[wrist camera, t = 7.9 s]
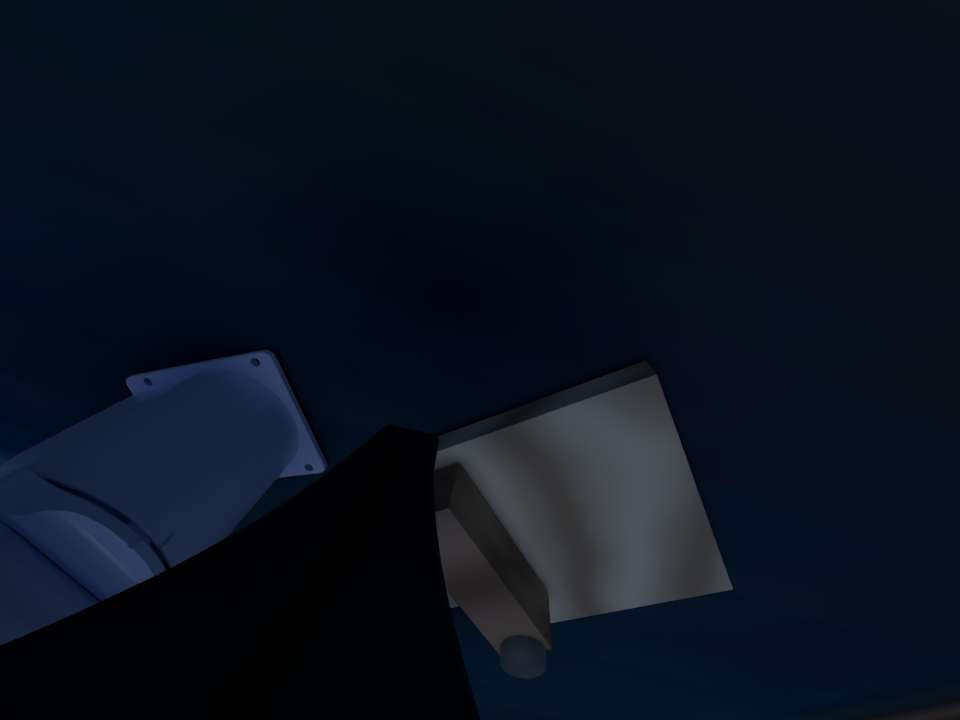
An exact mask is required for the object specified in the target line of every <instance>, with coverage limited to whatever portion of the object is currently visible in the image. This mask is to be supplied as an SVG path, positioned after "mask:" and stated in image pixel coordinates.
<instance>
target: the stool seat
mask: <svg viewBox="0 0 960 720" xmlns="http://www.w3.org/2000/svg"><path fill="white" fill-rule="evenodd" d="M438 439H439V445H438V451H437V457H436V463H435V469H434V472H437V471H440V470H442V469H445V468H448V467H450V466H453V465H456V464H458V463H459V464H460V465H461V467H462V468H463V470H464V471H465V473H466V474H467V475H468V477H469V478H470V480H471V481H472V483H473V484H474V486H475V487H476V489H477V490H478V492H479V493H480V494H481V496H482V497H483V499H484V500H485V502H486V503H487V505H488V506H489V508H490V509H491V511H492V512H493V513H494V515H495V516H496V518H497V519H498V521H499V522H500V524H501V525H502V527H503V528H504V529H505V531H506V532H507V534H508V535H509V537H510V538H511V540H512V541H513V543H514V544H515V546H516V547H517V548H518V550H519V551H520V553H521V554H522V556H523V557H524V559H525V560H526V562H527V563H528V565H529V566H530V567H531V569H532V570H533V572H534V573H535V575H536V576H537V578H538V579H539V581H540V582H541V584H542V585H543V586H544V588H545V589H546V591H547V592H548V594H549V609H550V623H554V622H560V621H565V620H570V619H576V618H581V617H587V616H592V615H597V614H603V613H608V612H614V611H619V610H624V609H630V608H635V607H641V606H646V605H651V604H657V603H662V602H668V601H673V600H678V599H684V598H689V597H695V596H700V595H705V594H711V593H716V592H722V591H727V590H732V586H731V583H730V580H729V577H728V574H727V572H726V569H725V566H724V563H723V560H722V557H721V555H720V552H719V549H718V546H717V543H716V541H715V538H714V535H713V532H712V529H711V526H710V524H709V521H708V518H707V515H706V512H705V510H704V507H703V504H702V501H701V498H700V495H699V493H698V490H697V487H696V484H695V481H694V478H693V476H692V473H691V470H690V467H689V464H688V462H687V459H686V456H685V453H684V450H683V447H682V445H681V442H680V439H679V436H678V433H677V431H676V428H675V425H674V422H673V419H672V416H671V414H670V411H669V408H668V405H667V402H666V399H665V397H664V394H663V391H662V388H661V385H660V383H659V380H658V377H657V374H656V373H655V372H654V370H653V369H652V367H651V366H650V365H649V363H648V362H647V361H646V360H645V361H643V362H640V363H637V364H635V365H632V366H629V367H626V368H624V369H621V370H618V371H615V372H613V373H610V374H607V375H605V376H602V377H599V378H596V379H594V380H591V381H588V382H585V383H583V384H580V385H577V386H575V387H572V388H569V389H566V390H564V391H561V392H558V393H555V394H553V395H550V396H547V397H545V398H542V399H539V400H536V401H534V402H531V403H528V404H525V405H523V406H520V407H517V408H514V409H512V410H509V411H506V412H504V413H501V414H498V415H495V416H493V417H490V418H487V419H484V420H482V421H479V422H476V423H474V424H471V425H468V426H465V427H463V428H460V429H457V430H454V431H452V432H449V433H446V434H444V435H441V436H438ZM447 595H448V599H449V604H450V608H454V607H458V606H459V604H458V603H457V602H456V601H455V600H454V598H453V597H452V596H451V595H450V594H449V592H448V591H447Z"/></svg>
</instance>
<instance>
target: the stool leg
mask: <svg viewBox="0 0 960 720" xmlns="http://www.w3.org/2000/svg"><path fill="white" fill-rule="evenodd" d="M434 501H435V516H436V526H437V534H438V543H439V550H440V556H441V563H442V568H443V574H444V579H445V585H446V590H447V591H448V592H449V594H450V595H451V596H452V597H453V598H454V600H455V601H456V602H457V603H458V604H459V606H460V607H461V608H462V609H463V611H464V612H465V613H466V614H467V615H468V617H469V618H470V619H471V620H472V622H473V623H474V624H475V625H476V626H477V628H478V629H479V630H480V631H481V632H482V634H483V635H484V636H485V637H486V639H487V640H488V641H489V642H490V643H491V645H492V646H493V647H494V648H495V649H496V651H497V652H498V653H499V654H500V665H501V668H502V669H503V670H504V671H505V672H506V673H508V674H510V675H512V676H515V677H519V678H535V677H538V676H540V675H542V674H543V673H544V672H545V670H546V659H545V650H548V649H552V641H551V625H550V609H549V594H548V592H547V591H546V589H545V588H544V586H543V585H542V584H541V582H540V581H539V579H538V578H537V576H536V575H535V573H534V572H533V570H532V569H531V567H530V566H529V565H528V563H527V562H526V560H525V559H524V557H523V556H522V554H521V553H520V551H519V550H518V548H517V547H516V546H515V544H514V543H513V541H512V540H511V538H510V537H509V535H508V534H507V532H506V531H505V529H504V528H503V527H502V525H501V524H500V522H499V521H498V519H497V518H496V516H495V515H494V513H493V512H492V511H491V509H490V508H489V506H488V505H487V503H486V502H485V500H484V499H483V497H482V496H481V494H480V493H479V492H478V490H477V489H476V487H475V486H474V484H473V483H472V481H471V480H470V478H469V477H468V475H467V474H466V473H465V471H464V470H463V468H462V467H461V465H460V464H459V463H458V464H456V465H453V466H450V467H448V468H445V469H442V470H440V471H437V472H434Z"/></svg>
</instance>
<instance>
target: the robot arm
mask: <svg viewBox="0 0 960 720" xmlns="http://www.w3.org/2000/svg"><path fill="white" fill-rule="evenodd" d="M256 359H258V360H259V361H260V363H258V362H257V361H256ZM126 384H127V386H128V388H129V389H130V390H131V392H132V393H133V395H132V396H130V397H128V398H126V399H124V400H122V401H120V402H118V403H116V404H114V405H113V406H111V407H109V408H107V409H105V410H103V411H101V412H99V413H97V414H95V415H93V416H91V417H89V418H87V419H85V420H83V421H81V422H79V423H78V424H76V425H74V426H72V427H70V428H68V429H66V430H64V431H62V432H60V433H58V434H56V435H54V436H52V437H50V438H48V439H46V440H44V441H43V442H41V443H39V444H37V445H35V446H33V447H31V448H29V449H27V450H25V451H23V452H21V453H19V454H18V455H16V456H14V457H13V458H11V459H10V460H8V461H6V462H5V463H4V464H2V465H1V466H0V720H480V718H479V714H478V711H477V708H476V704H475V701H474V698H473V694H472V691H471V688H470V684H469V680H468V676H467V673H466V669H465V665H464V661H463V657H462V653H461V649H460V646H459V642H458V638H457V634H456V630H455V626H454V622H453V618H452V613H451V609H450V604H449V599H448V595H447V590H446V585H445V579H444V574H443V568H442V563H441V556H440V550H439V543H438V534H437V526H436V516H435V501H434V469H435V463H436V457H437V451H438V445H439V439H438V437H437V436H436V435H433V434H429V433H424V432H420V431H415V430H410V429H406V428H401V427H397V426H392V425H387V426H385V427H383V428H382V429H381V430H380V431H379V432H377V433H376V434H375V435H374V436H373V437H372V438H370V439H369V440H368V441H367V442H366V443H364V444H363V445H362V446H361V447H360V448H358V449H357V450H356V451H355V452H353V453H352V454H351V455H350V456H348V457H347V458H346V459H344V460H343V461H342V462H341V463H339V464H338V465H337V466H335V467H334V468H333V469H331V470H330V471H329V472H327V473H326V474H325V475H323V476H322V477H321V478H319V479H318V480H317V481H315V482H314V483H312V484H311V485H309V486H308V487H306V488H305V489H303V490H302V491H301V492H299V493H298V494H296V495H295V496H293V497H292V498H290V499H289V500H287V501H286V502H285V503H283V504H281V505H280V506H278V507H277V508H275V509H274V510H272V511H271V512H269V513H267V514H266V515H264V516H263V517H261V518H259V519H258V520H256V521H254V522H253V523H251V524H249V525H248V526H246V527H244V528H243V529H241V530H239V531H237V532H236V533H234V534H232V535H231V536H229V537H227V536H228V535H229V533H230V532H231V531H232V530H233V529H234V528H235V526H236V525H237V524H238V523H239V522H240V521H241V520H242V518H243V517H244V516H245V515H246V514H247V513H248V511H249V510H250V509H251V508H252V507H253V506H254V505H255V503H256V502H257V501H258V500H259V499H260V498H261V496H262V495H263V494H264V493H265V492H266V491H267V490H268V488H269V487H270V486H271V485H272V484H273V483H274V481H275V480H276V479H277V478H280V477H288V476H297V475H306V474H315V473H321V472H323V471H324V470H325V469H326V467H327V462H326V460H325V458H324V456H323V454H322V451H321V449H320V447H319V445H318V443H317V441H316V439H315V437H314V435H313V433H312V431H311V429H310V426H309V424H308V422H307V420H306V418H305V416H304V414H303V412H302V410H301V408H300V406H299V404H298V402H297V399H296V397H295V395H294V393H293V391H292V389H291V387H290V385H289V383H288V381H287V379H286V377H285V374H284V372H283V370H282V368H281V366H280V364H279V362H278V360H277V358H276V356H275V355H274V353H272V352H271V351H269V350H259V351H254V352H249V353H244V354H238V355H233V356H228V357H223V358H217V359H212V360H207V361H202V362H196V363H191V364H186V365H181V366H175V367H170V368H165V369H160V370H154V371H149V372H144V373H139V374H134V375H132V376H130V377H128V378H127V379H126ZM310 465H311V466H310ZM226 537H227V538H226Z"/></svg>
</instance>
